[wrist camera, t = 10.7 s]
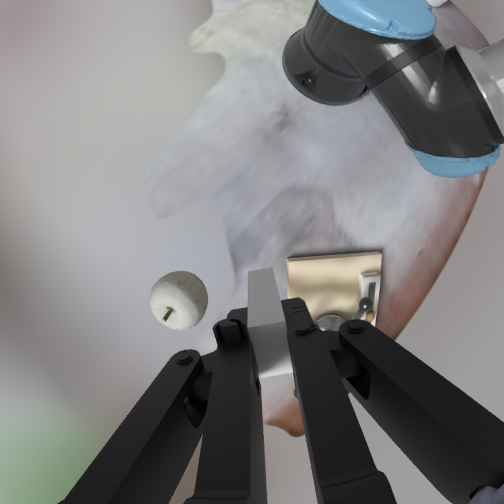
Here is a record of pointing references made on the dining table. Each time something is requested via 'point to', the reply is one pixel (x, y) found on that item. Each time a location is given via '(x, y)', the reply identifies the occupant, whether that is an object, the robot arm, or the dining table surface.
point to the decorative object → (179, 300)
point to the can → (436, 2)
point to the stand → (336, 283)
